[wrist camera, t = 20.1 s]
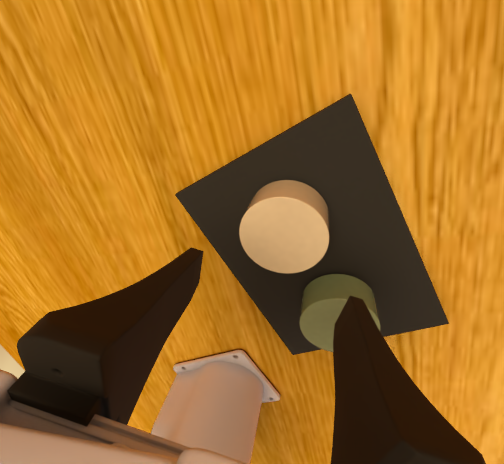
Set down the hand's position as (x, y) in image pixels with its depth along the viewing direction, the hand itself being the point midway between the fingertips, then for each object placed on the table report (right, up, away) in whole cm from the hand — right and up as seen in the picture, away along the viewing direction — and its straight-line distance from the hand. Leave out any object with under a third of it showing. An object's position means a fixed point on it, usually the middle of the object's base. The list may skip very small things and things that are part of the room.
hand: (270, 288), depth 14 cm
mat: (+4, +1, +8) cm, 9 cm away
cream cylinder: (+2, +4, +6) cm, 7 cm away
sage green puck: (+6, -2, +9) cm, 11 cm away
